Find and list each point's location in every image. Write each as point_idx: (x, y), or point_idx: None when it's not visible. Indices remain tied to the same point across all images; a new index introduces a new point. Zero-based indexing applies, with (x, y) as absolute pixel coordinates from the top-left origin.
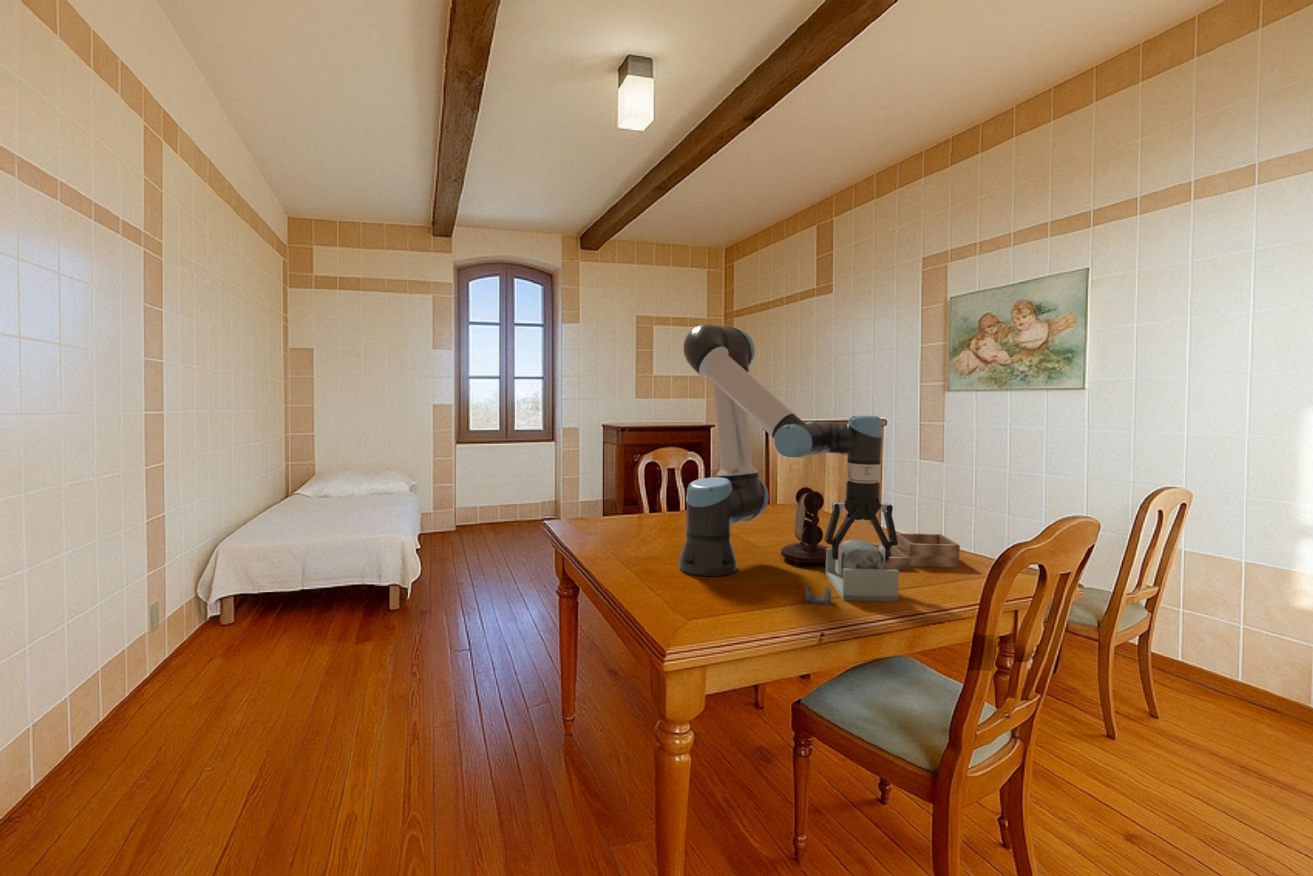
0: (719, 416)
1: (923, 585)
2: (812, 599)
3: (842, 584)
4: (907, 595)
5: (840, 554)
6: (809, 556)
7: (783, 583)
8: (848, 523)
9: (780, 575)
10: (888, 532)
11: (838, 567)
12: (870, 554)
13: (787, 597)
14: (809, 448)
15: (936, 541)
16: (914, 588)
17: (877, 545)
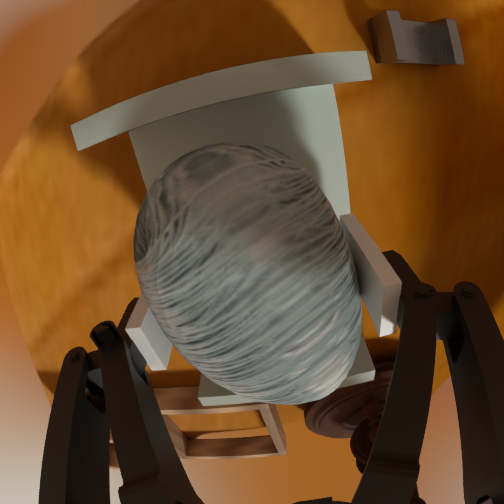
0: None
1: (83, 295)
2: (426, 29)
3: (324, 193)
4: (104, 193)
5: (377, 260)
6: (384, 378)
7: (474, 208)
8: (404, 444)
9: (463, 273)
10: (101, 422)
11: (361, 225)
12: (201, 185)
13: (478, 82)
14: None
15: (112, 456)
16: (96, 266)
17: (208, 455)
